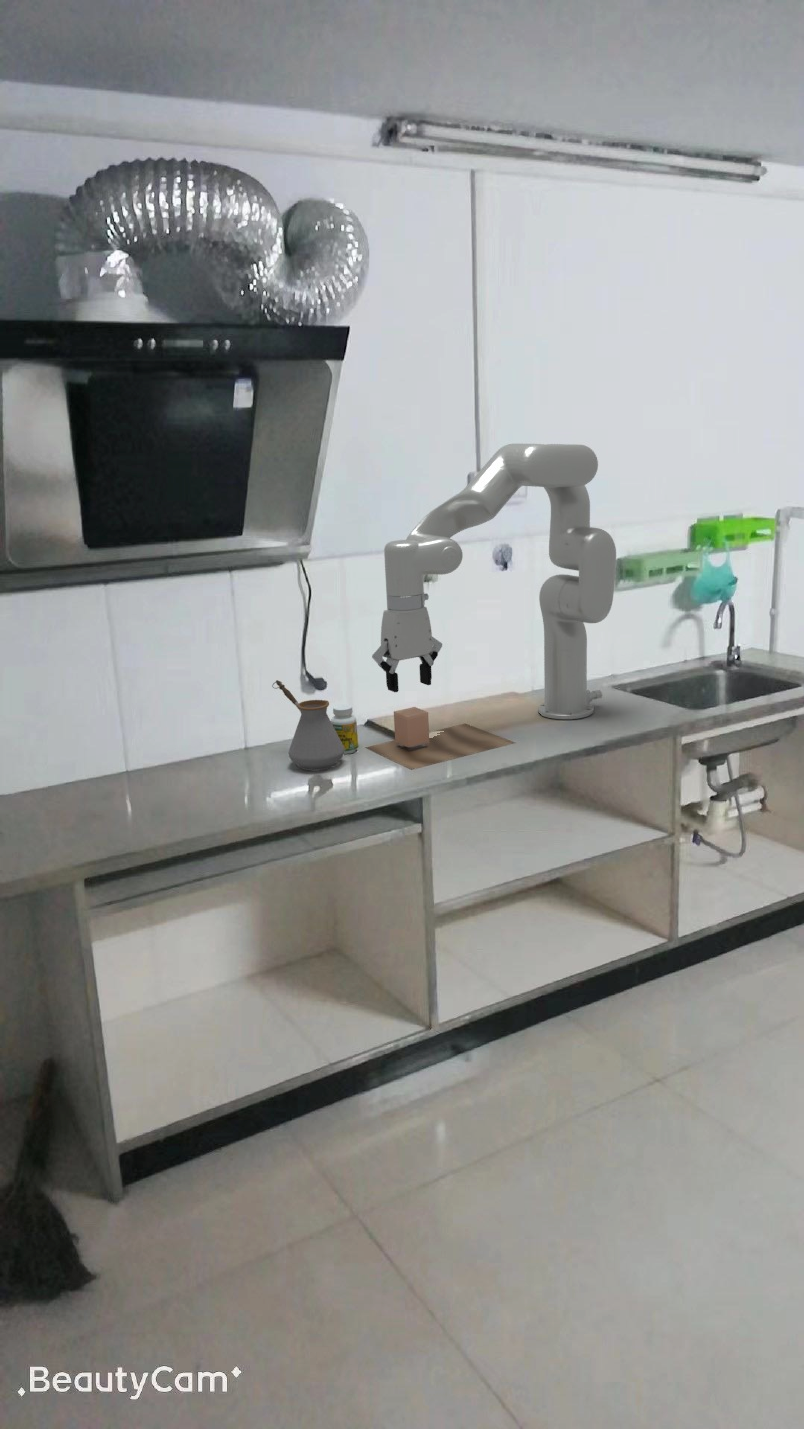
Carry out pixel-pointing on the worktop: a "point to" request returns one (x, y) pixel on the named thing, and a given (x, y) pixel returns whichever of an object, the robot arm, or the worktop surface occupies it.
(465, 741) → the board
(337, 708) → the supplement bottle
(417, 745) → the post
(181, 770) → the worktop surface
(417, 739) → the tan wooden brick
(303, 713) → the coffee pot
